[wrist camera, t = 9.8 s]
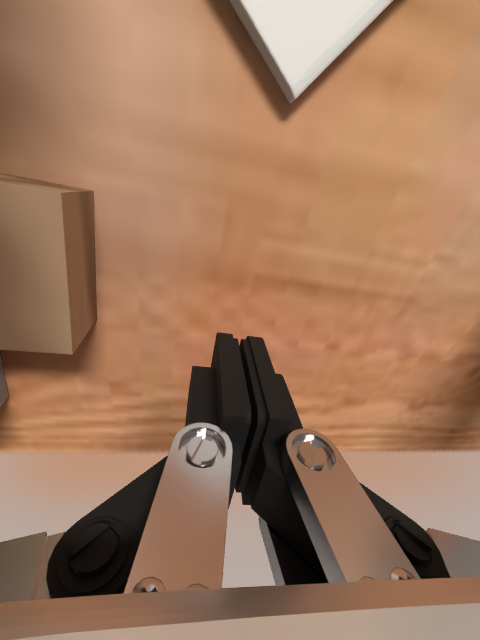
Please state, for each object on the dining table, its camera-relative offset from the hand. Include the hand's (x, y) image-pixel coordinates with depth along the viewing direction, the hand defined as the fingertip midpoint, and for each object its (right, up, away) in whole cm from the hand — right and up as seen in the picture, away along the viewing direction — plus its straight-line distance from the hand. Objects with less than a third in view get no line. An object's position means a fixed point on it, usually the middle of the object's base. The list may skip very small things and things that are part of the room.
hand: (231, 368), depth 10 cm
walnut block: (-12, +6, +6) cm, 14 cm away
